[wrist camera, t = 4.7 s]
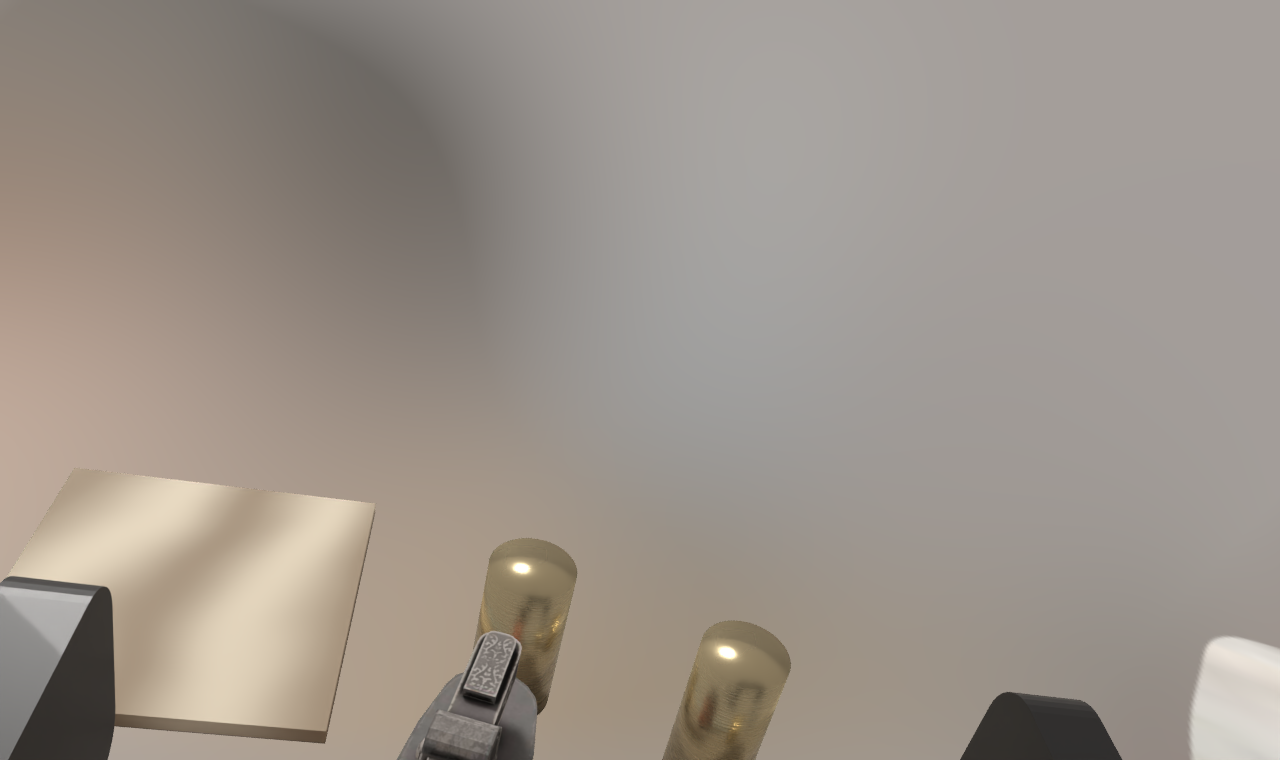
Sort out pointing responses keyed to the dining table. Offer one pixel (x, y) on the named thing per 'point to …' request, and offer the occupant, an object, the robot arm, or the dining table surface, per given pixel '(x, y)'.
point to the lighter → (479, 710)
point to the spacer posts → (719, 681)
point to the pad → (212, 597)
